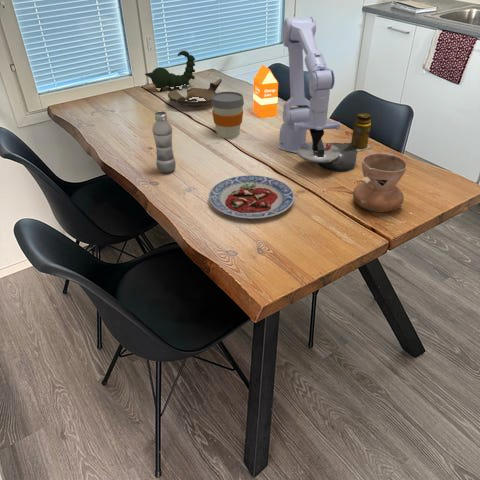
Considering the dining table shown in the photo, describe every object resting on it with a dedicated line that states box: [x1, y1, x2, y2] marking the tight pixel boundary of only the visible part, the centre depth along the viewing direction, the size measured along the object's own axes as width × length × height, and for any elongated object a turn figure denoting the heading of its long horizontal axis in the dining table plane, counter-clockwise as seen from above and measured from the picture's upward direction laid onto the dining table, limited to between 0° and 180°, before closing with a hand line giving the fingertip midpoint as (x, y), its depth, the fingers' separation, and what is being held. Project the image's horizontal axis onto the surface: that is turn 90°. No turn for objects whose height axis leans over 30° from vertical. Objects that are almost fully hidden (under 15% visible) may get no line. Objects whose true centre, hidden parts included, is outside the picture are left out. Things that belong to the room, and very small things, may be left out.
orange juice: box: [252, 64, 279, 119], centre depth 194 cm, size 8×9×20 cm
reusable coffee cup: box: [210, 91, 245, 139], centre depth 177 cm, size 13×13×15 cm
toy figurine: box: [144, 50, 196, 89], centre depth 224 cm, size 9×19×25 cm
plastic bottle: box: [152, 110, 177, 174], centre depth 149 cm, size 6×7×20 cm
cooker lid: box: [297, 138, 340, 164], centre depth 153 cm, size 16×14×4 cm
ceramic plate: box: [208, 174, 296, 220], centre depth 138 cm, size 26×26×3 cm
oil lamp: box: [167, 78, 223, 107], centre depth 210 cm, size 22×30×8 cm
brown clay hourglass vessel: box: [352, 152, 408, 213], centre depth 133 cm, size 18×14×14 cm
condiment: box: [348, 112, 373, 152], centre depth 168 cm, size 7×8×12 cm
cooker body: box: [317, 142, 358, 173], centre depth 159 cm, size 16×18×5 cm
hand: (314, 150), depth 151 cm, fingers closed
